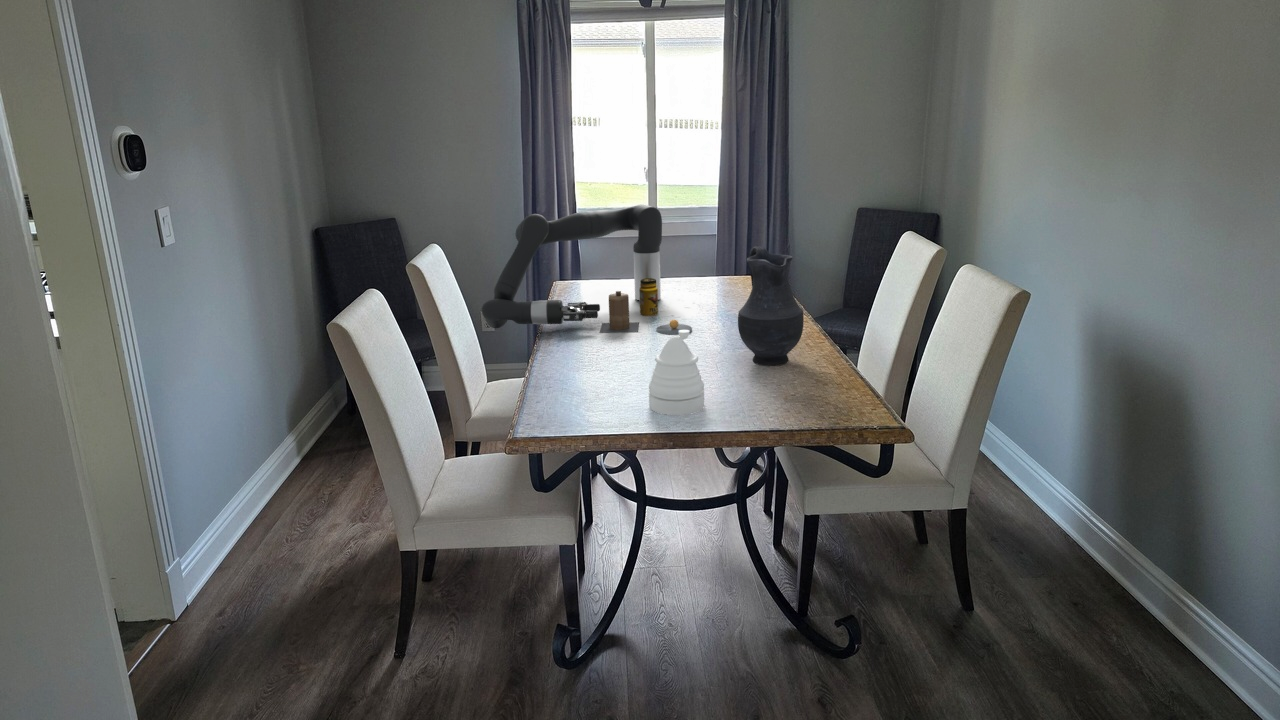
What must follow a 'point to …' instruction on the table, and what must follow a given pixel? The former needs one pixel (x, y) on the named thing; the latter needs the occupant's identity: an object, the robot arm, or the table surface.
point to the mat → (606, 329)
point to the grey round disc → (668, 330)
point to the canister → (619, 311)
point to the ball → (674, 324)
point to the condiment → (648, 297)
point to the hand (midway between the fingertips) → (598, 310)
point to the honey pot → (676, 379)
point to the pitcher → (770, 310)
